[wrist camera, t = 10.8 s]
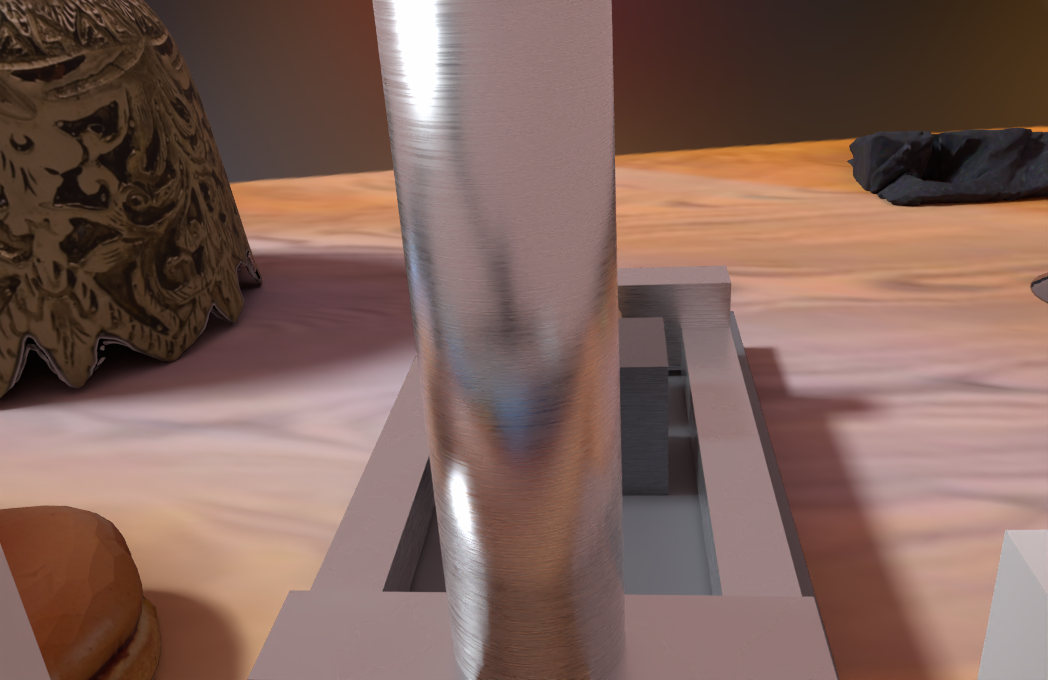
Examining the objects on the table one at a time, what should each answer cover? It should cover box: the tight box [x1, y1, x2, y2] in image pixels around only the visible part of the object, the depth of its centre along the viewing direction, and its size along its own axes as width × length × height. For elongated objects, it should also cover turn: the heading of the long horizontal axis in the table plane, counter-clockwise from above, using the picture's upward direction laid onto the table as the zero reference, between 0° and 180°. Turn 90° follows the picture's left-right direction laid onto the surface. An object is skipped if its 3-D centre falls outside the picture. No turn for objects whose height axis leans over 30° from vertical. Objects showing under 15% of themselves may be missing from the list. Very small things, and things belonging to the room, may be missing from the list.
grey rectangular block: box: [618, 317, 669, 496], centre depth 33 cm, size 7×4×5 cm, turn 85°
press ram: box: [247, 0, 837, 680], centre depth 26 cm, size 13×24×23 cm, turn 175°
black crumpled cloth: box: [847, 128, 1048, 206], centre depth 70 cm, size 15×22×5 cm
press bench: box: [409, 311, 839, 680], centre depth 34 cm, size 15×28×2 cm, turn 175°
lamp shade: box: [0, 0, 262, 397], centre depth 51 cm, size 23×23×25 cm
